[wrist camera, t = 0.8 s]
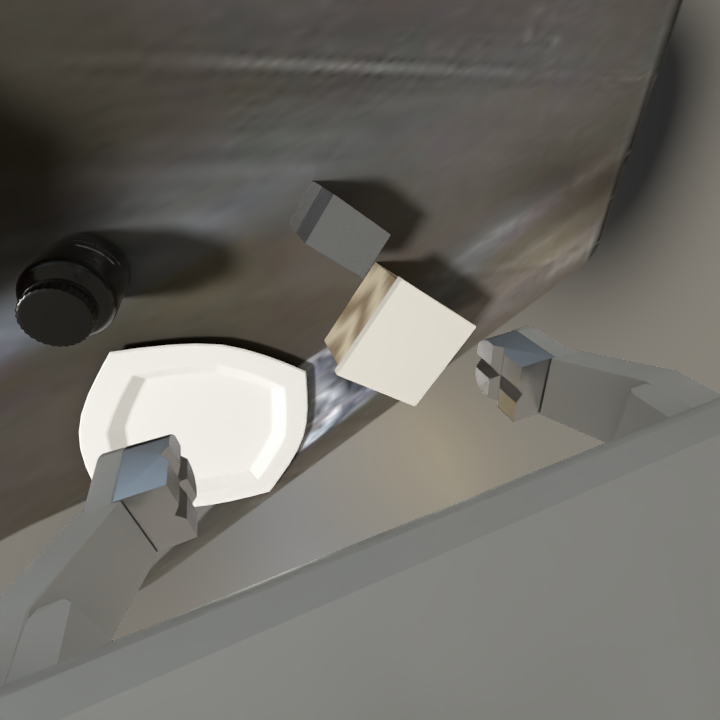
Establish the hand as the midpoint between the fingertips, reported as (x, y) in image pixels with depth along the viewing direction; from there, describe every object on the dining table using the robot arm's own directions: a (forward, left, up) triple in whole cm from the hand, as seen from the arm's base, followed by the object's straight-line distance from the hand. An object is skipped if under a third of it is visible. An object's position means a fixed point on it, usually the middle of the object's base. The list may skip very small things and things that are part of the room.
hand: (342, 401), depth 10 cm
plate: (+29, +10, -37) cm, 48 cm away
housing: (-2, +10, -36) cm, 38 cm away
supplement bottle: (+14, -8, -36) cm, 40 cm away
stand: (+5, +24, -36) cm, 44 cm away
